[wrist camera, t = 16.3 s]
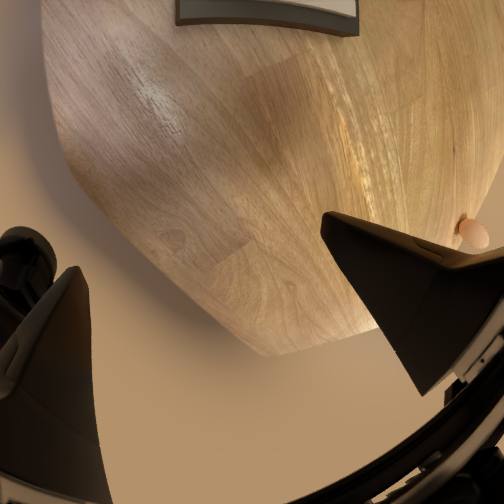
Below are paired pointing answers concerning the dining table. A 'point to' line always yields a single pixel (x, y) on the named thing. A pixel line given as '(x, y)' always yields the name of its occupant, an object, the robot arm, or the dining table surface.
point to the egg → (474, 233)
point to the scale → (274, 14)
